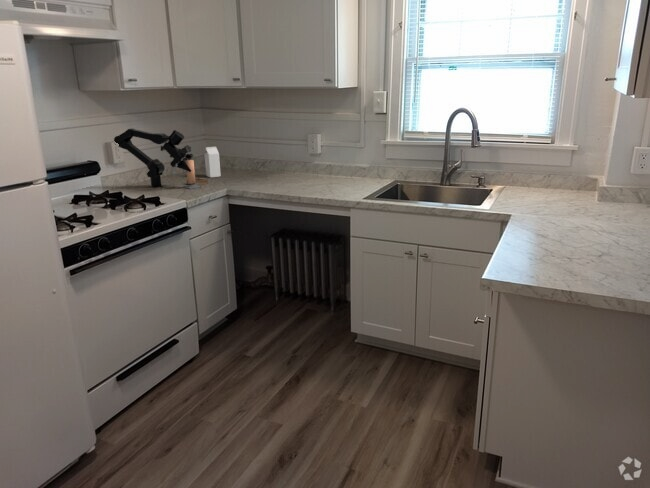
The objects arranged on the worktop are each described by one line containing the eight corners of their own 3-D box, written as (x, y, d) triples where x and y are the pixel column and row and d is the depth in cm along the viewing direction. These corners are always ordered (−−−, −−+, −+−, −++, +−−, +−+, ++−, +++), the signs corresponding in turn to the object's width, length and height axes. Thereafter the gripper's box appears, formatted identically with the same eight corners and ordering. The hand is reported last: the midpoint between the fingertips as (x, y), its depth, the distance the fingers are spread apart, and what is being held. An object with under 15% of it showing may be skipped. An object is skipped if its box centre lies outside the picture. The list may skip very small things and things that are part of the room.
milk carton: (220, 176, 323) (218, 147, 318) (210, 177, 319) (207, 147, 314) (216, 175, 329) (214, 146, 323) (206, 176, 325) (203, 146, 319)
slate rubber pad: (183, 187, 289) (183, 186, 289) (194, 185, 294) (194, 184, 293) (190, 189, 284) (189, 187, 284) (200, 187, 289) (200, 186, 289)
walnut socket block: (187, 183, 300) (186, 179, 299) (200, 181, 306) (199, 177, 305) (195, 185, 294) (194, 181, 293) (208, 183, 300) (207, 179, 299)
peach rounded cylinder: (187, 182, 289) (185, 160, 285) (195, 182, 291) (193, 159, 287) (187, 183, 285) (185, 161, 281) (195, 183, 287) (193, 160, 283)
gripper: (173, 142, 273) (193, 163, 274) (189, 139, 290) (208, 158, 291) (161, 157, 277) (182, 177, 278) (177, 152, 294) (196, 171, 295)
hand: (192, 170), depth 286 cm, fingers closed on peach rounded cylinder, 4 cm apart
